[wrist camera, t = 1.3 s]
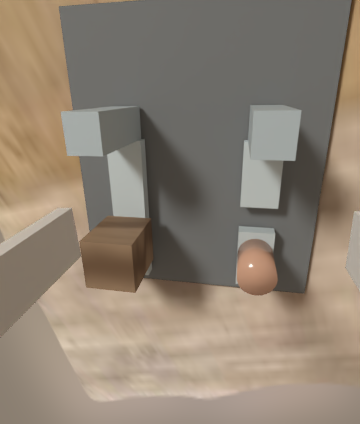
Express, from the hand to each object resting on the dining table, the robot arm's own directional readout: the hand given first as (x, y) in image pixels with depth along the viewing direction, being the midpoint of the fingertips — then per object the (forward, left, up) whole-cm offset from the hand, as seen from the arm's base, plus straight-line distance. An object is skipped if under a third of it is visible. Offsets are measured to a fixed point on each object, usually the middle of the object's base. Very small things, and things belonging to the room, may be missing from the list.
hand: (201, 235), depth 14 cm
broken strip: (+5, +4, -21) cm, 22 cm away
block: (+10, -11, -19) cm, 24 cm away
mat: (+1, -3, -21) cm, 22 cm away
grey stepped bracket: (+5, -11, -21) cm, 25 cm away
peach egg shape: (+11, +4, -19) cm, 22 cm away
